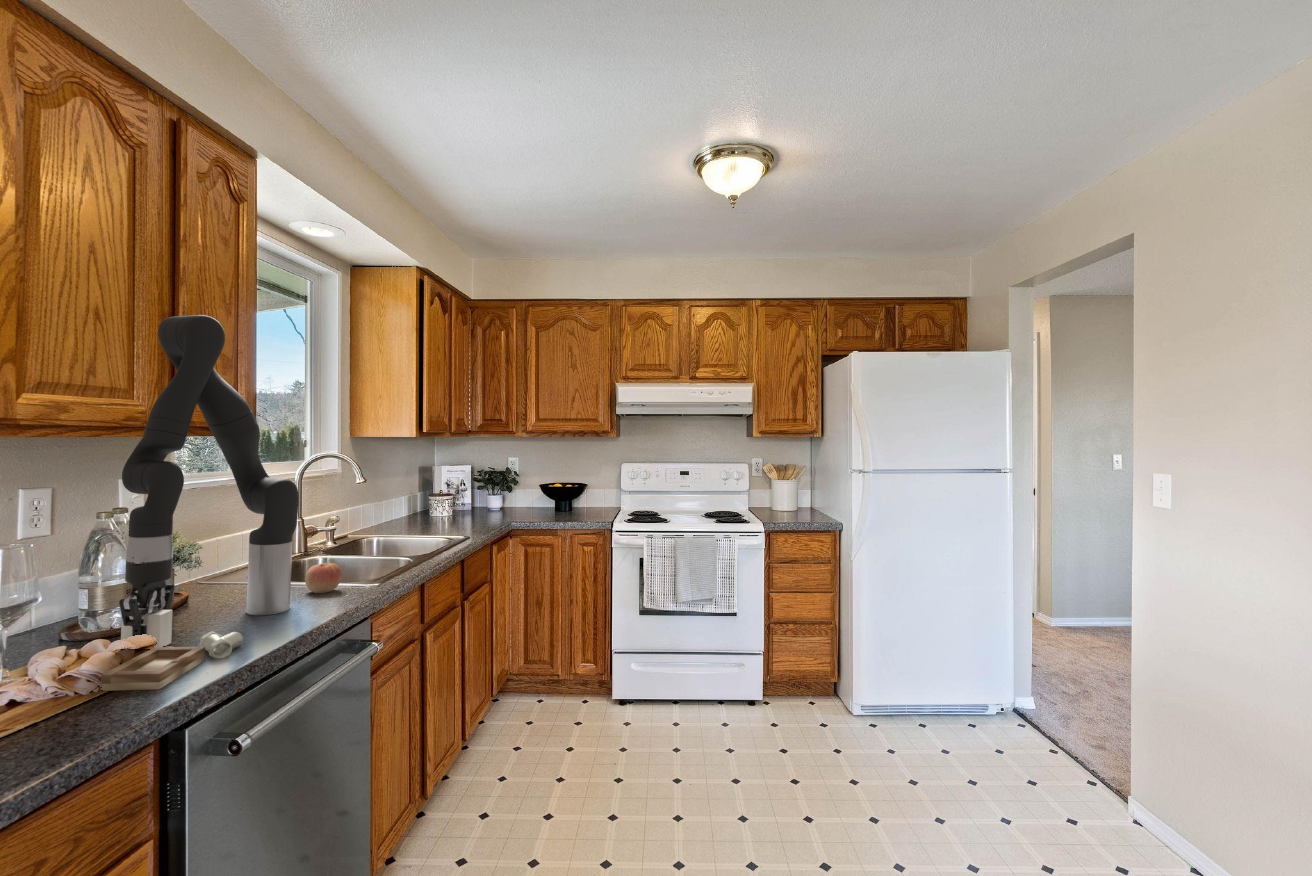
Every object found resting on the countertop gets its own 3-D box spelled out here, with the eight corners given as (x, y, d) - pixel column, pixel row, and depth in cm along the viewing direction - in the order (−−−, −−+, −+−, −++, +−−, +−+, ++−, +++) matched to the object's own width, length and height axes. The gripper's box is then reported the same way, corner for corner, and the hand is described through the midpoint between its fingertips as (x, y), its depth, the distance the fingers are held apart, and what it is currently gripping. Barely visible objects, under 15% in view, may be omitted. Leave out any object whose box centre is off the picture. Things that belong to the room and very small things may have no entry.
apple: (346, 590, 176) (348, 562, 176) (318, 597, 168) (319, 568, 168) (325, 586, 180) (326, 559, 180) (297, 593, 172) (298, 564, 172)
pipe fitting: (237, 646, 130) (199, 651, 125) (239, 627, 131) (201, 631, 126) (250, 655, 125) (210, 661, 120) (252, 636, 126) (213, 641, 120)
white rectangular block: (133, 643, 128) (135, 606, 128) (171, 642, 129) (172, 605, 129) (120, 649, 124) (122, 611, 124) (159, 649, 125) (160, 611, 125)
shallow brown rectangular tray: (153, 661, 119) (154, 646, 119) (205, 660, 120) (205, 645, 120) (100, 690, 105) (101, 673, 105) (159, 689, 106) (160, 672, 106)
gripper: (151, 550, 133) (148, 630, 133) (104, 564, 119) (100, 652, 119) (190, 551, 134) (187, 629, 134) (147, 564, 120) (144, 652, 120)
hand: (146, 640), depth 127 cm, fingers closed on white rectangular block, 4 cm apart
